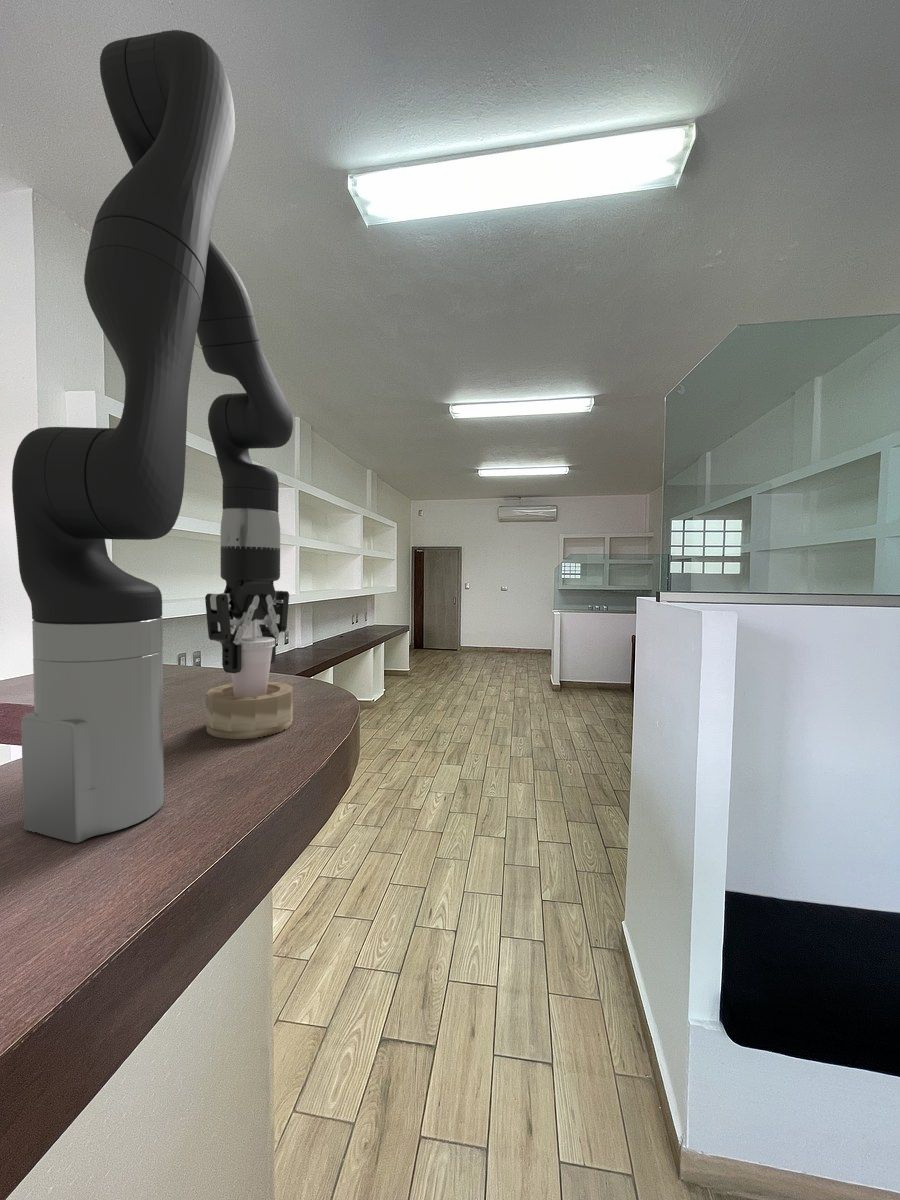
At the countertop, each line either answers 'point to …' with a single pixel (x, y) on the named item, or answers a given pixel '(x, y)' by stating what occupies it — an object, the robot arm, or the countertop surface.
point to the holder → (248, 712)
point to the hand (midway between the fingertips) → (250, 667)
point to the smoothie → (253, 665)
